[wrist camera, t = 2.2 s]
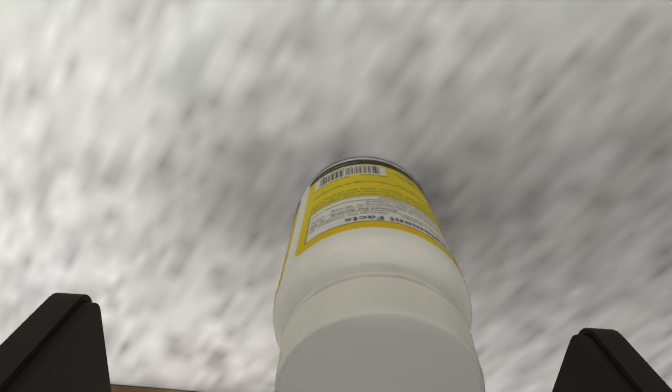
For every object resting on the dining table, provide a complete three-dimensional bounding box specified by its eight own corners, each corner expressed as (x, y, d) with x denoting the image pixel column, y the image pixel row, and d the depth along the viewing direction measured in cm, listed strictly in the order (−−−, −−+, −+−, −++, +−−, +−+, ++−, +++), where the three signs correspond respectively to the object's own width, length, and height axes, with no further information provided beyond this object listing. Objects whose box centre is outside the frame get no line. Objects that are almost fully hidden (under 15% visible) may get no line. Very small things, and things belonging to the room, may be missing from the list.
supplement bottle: (375, 294, 17) (399, 520, 10) (272, 232, 16) (205, 424, 9) (456, 201, 16) (562, 380, 8) (347, 126, 15) (347, 244, 7)
